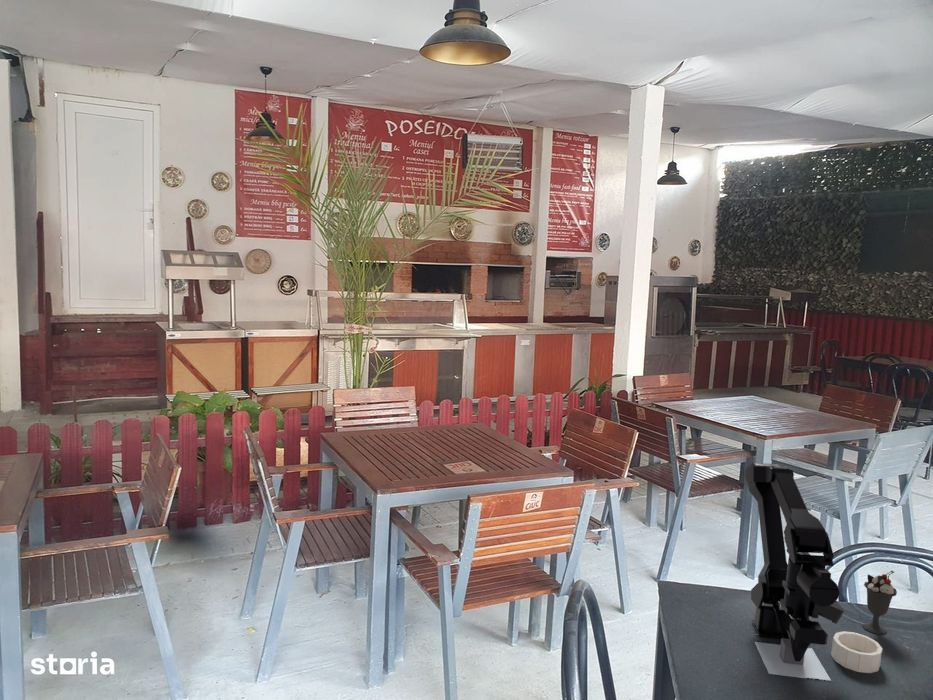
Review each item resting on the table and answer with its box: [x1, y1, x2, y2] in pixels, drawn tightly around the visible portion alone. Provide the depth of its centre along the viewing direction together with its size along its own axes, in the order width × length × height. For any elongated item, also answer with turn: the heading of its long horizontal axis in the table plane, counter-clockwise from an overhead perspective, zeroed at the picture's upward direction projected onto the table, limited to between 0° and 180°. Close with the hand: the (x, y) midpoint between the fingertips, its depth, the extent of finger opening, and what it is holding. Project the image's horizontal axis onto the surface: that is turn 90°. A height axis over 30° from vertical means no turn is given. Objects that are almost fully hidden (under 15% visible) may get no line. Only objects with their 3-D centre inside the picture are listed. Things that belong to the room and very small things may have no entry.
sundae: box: [861, 570, 898, 636], centre depth 168 cm, size 7×7×15 cm
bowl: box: [830, 630, 883, 674], centre depth 156 cm, size 9×9×4 cm
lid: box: [754, 638, 832, 682], centre depth 154 cm, size 12×12×5 cm
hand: (792, 652), depth 154 cm, fingers open, 6 cm apart
